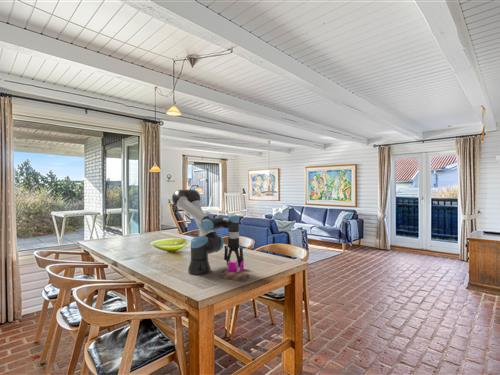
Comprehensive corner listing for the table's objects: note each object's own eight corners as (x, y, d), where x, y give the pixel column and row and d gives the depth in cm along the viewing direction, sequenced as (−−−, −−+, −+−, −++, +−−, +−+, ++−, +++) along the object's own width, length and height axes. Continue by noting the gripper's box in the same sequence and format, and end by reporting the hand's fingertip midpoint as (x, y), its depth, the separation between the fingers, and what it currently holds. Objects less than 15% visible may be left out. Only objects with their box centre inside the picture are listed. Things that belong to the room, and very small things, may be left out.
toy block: (236, 267, 199) (236, 257, 199) (243, 268, 196) (243, 258, 196) (225, 273, 185) (225, 262, 185) (233, 274, 183) (233, 263, 183)
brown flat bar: (220, 277, 176) (220, 274, 176) (225, 274, 183) (225, 270, 183) (244, 281, 169) (244, 277, 169) (248, 278, 176) (248, 274, 176)
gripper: (218, 237, 190) (218, 270, 190) (244, 239, 182) (244, 274, 182) (224, 235, 197) (224, 267, 197) (248, 237, 189) (248, 271, 189)
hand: (233, 270), depth 189 cm, fingers closed on toy block, 6 cm apart
